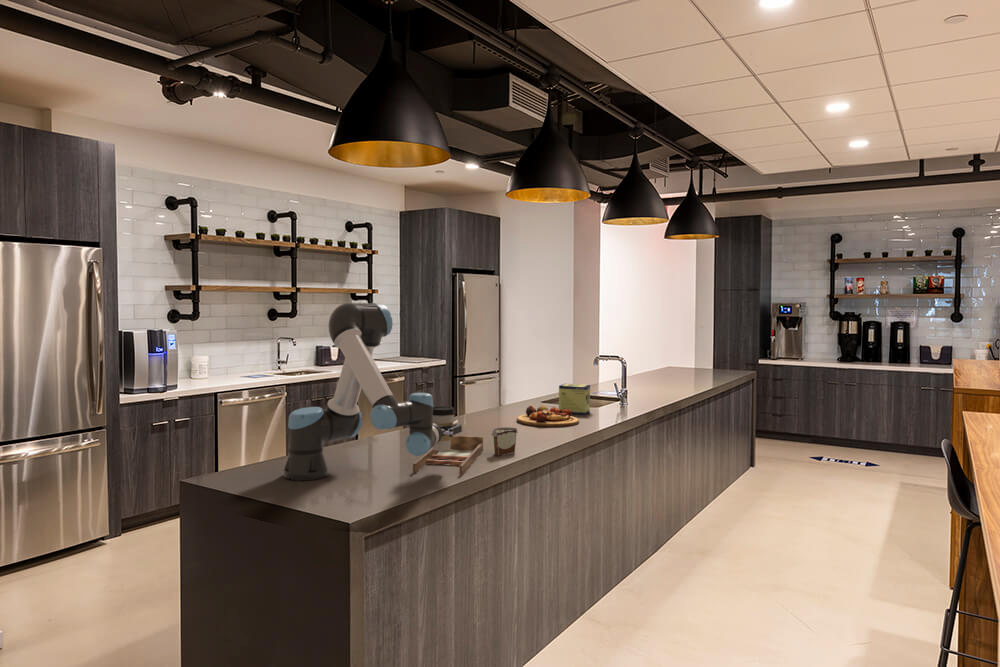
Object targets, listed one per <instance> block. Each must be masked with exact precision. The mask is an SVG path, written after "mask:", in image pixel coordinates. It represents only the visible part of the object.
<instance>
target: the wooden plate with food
mask: <svg viewBox="0 0 1000 667" xmlns="http://www.w3.org/2000/svg"><path fill="white" fill-rule="evenodd" d="M561 412H562V413H561ZM572 415H573V414H572V411H571V410H570V409H567V410H566V409H565V408H564V410H563V409H562V410H560V408H559V407H556V406H552V407H551V408H550V409H549V408H548V407H547V406H545V405H544V404H542V405H541V406H539V407H538V408H537V409H536V407H535V406H534V405H532V404H531V405H529V406H528V407H526V409H525V414H520V415H518V416H517V417H516V420H517V422H518V423H519V424H522V425H526V426H533V427H534V426H535V427H544V428H547V427H548V428H564V427H572V426H577V425H579V423H580V419H579V418H577V417H575V416H572Z"/></svg>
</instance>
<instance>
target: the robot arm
mask: <svg viewBox="0 0 1000 667" xmlns="http://www.w3.org/2000/svg"><path fill="white" fill-rule="evenodd" d="M393 322H394V321H393V317H392V314H391V311H390V310H389V308H388V307H387V306H386V305H384V304H382V303H375V302H370V303H369V302H368V303H367V302H366V303H363V302H362V303H361V302H359V303H357V302H355V303H352V302H347V303H343V304H340V305H338V306H337V307H335V309H334V310H332V313H331V315H330V316H329V320H328V333H329V337H330V339H331V342H333V345H334V347H335V348H337V349H340V351H341V352H342V354H343V356H344V361H343V364H342V367H341V371H340V375H339V379H338V381H337V385H336V389H335V392H334V394H333V398H330V399H329V400H328V401H327V404H326V408H325V409H323V408H322V407H319V406H308V407H301V408H298V409H296V410H293V411H292V412H290V414H289V415H288V424H287V427H288V456H287V459H286V462H285V465H284V467H283V478H284V477H285V478H284V479H286V478H287V479H286V480H289V479H291V480H290V481H299V482H300V481H302V480H303V481H313V480H319V479H323V478H325V477H327V476H328V475H329V467H328V463H327V460H326V458H325V454H324V444H325V443H326V444H327V443H331V442H335V441H343V440H348V439H350V438H351V439H352V438H354V437H356V436H357V435H358V434H359V433H360V431H361V429H362V426H363V419H362V417H363V415H362V413H361V411H360V407H359V405H358V400H359V399H360V394H361V391H363V393H364V394H365V396H366V399H367V400H368V401H369V404H370V406H371V407H372V409H371V411H370V414H369V418H370V422H371V425H372V426H373V427H374V428H375V429H377V430H380V431H381V430H382V431H383V430H392V429H394V428H400V427H407V426H409V427H408V429H409V430H408V431H409V432H408V436H407V437H406V441H405V448H406V449H407V452H408V453H409V454H410V455H413V456H416V457H419V456H420V457H421V456H423V455H424V454H425V453H427V452H428V451H429V450H430V449H431V448H433V446H434V445H436V444H437V443H438V442H439V441H440V440H441V438H442V436H445V434H448V436H450V437H452V436H456V435H457V434H460V433H461V432H463V430H462V429H463V428H462V424H460V423H459V420H458V419H457V420H455V421H454V423H452V425H449V426H438V425H437V424H435V423H433V407H434V401H433V395H432V394H431V393H427V392H413V393H410V395H409V397H408V398H409V399H408V400H407V401H400V402H398V401H397V399H396V397H395V396H394V394H393V392H392V390H391V389H390V387H389V386H388V383H387V381H386V380H385V378H384V376H383V375H382V373H381V370H380V369H379V367H378V366H377V363H376V362H375V360H374V359H373V357H372V356H373V352H374V349H376V348H378V347H379V346H380V344H381V341H382V338H383V337H384V338H385V337H386V336H388V335H390V334H391V332H392V330H393V324H394V323H393Z"/></svg>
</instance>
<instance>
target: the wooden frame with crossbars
mask: <svg viewBox="0 0 1000 667" xmlns="http://www.w3.org/2000/svg"><path fill="white" fill-rule="evenodd" d="M450 449H452V450H446V451H440V452H439V451H436V450H433V447H432V448H431V449H430V450H429V451H428V452H427V453H424V454H423V455H421V456H420V457H419V458H418V459H417V460H416V461H414V462H413V464H412V473H413V474H417V473H418V472H419V471H420V470H421V469H422V467H423V466H424V465H425V464H426V463H430V464H429V465H435V464H450V465H449V466H456V465H460V466H459V471H458V472H459V475H461V476H460V477H463V476H462V475H464V474H465V473H466V472H467V471H468V470H469V468H471V467H472V465H473V464H474V463H475V461H476V460H477V459H478V458H479V457H480V456H481V455H482V453H483V452H484V436H474V435H453V436H452V439H451V446H450ZM482 451H483V452H482ZM438 452H439V453H438ZM481 452H482V453H481ZM437 453H438V454H437ZM436 454H437V455H436ZM478 456H479V457H478ZM477 457H478V458H477ZM432 458H434V459H432ZM476 458H477V459H476ZM438 459H452V460H438ZM459 460H465V461H459ZM473 462H474V463H473ZM472 463H473V464H472ZM471 464H472V465H471ZM426 465H427V464H426ZM426 465H425V466H426ZM425 466H424V467H425ZM424 467H423V468H424ZM420 468H421V469H420ZM419 469H420V470H419ZM467 469H468V470H467ZM418 470H419V471H418ZM466 470H467V471H466ZM417 471H418V472H417ZM416 472H417V473H416Z"/></svg>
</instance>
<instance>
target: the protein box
mask: <svg viewBox="0 0 1000 667" xmlns="http://www.w3.org/2000/svg"><path fill="white" fill-rule="evenodd" d="M590 401H591V385H590V384H579V383H578V384H575V383H562V384H560V385H558V409H559V408H560V410H562V409H563V410H564V408H565V409H566V410H567V409H570V410H571V411H572V415H576V414H578V416H586V415H588V414H590V411H591V410H590V408H591V407H590V406H591V402H590ZM561 413H562V412H561Z"/></svg>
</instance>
